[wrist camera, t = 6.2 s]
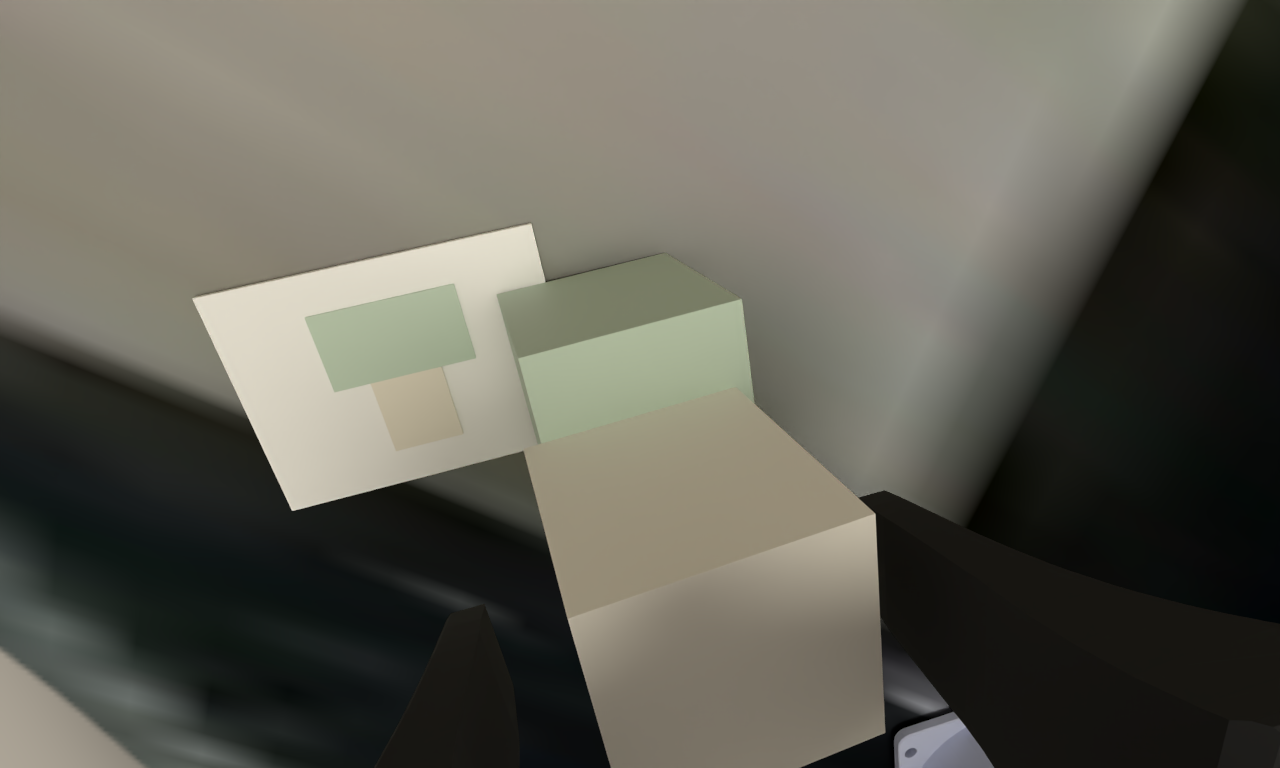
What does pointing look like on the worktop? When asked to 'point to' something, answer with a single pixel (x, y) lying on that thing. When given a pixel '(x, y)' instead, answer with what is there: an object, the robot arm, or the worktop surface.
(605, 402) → the sage brick
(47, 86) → the worktop surface
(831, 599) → the ivory brick
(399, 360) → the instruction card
